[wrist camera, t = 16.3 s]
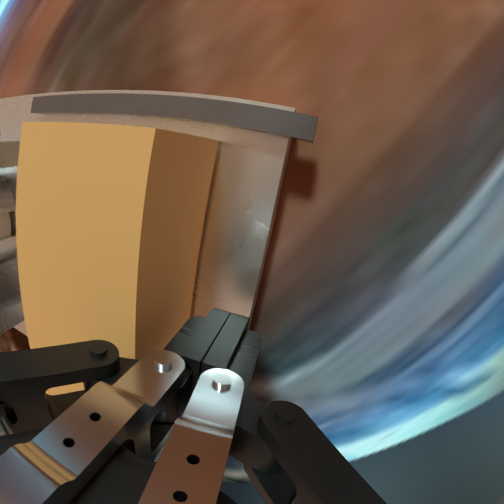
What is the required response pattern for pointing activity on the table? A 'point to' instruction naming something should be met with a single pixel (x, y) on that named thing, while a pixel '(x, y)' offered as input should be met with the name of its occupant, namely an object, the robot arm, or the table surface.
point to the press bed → (221, 188)
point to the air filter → (7, 222)
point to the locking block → (109, 233)
